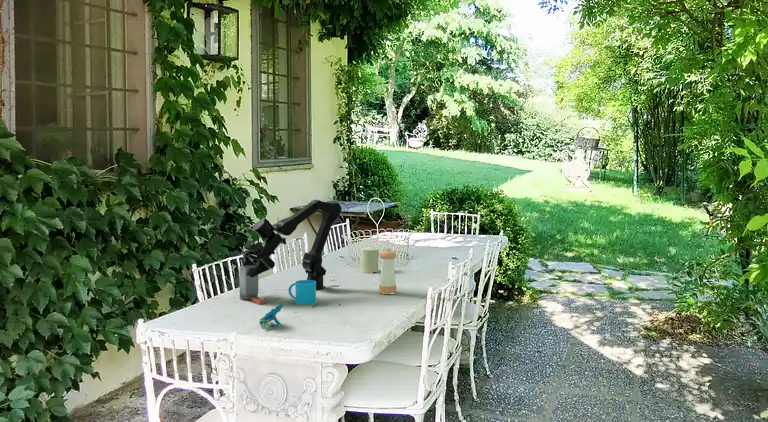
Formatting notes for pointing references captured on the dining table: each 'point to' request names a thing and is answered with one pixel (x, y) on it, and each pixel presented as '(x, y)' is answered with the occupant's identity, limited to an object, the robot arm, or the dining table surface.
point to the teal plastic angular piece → (271, 316)
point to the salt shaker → (387, 272)
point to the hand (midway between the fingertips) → (245, 275)
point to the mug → (304, 291)
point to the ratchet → (253, 298)
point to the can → (369, 260)
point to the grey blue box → (248, 280)
